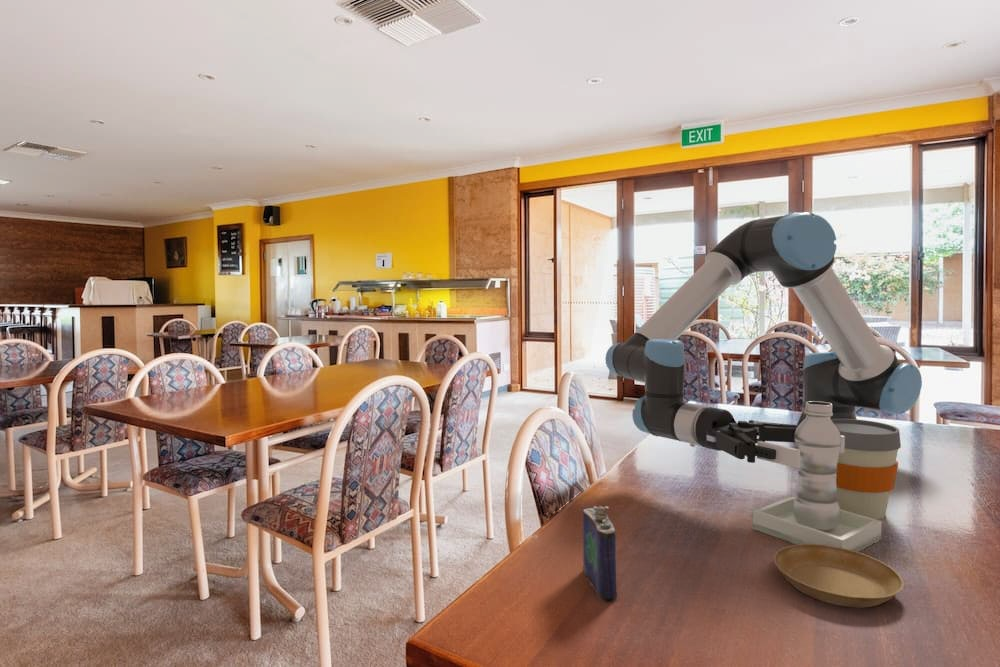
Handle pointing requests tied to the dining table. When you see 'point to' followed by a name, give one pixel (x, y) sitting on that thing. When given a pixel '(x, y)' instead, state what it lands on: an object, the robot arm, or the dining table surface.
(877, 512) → the reusable coffee cup
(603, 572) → the flask
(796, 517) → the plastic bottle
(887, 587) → the plant saucer
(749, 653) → the dining table surface
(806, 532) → the tray
